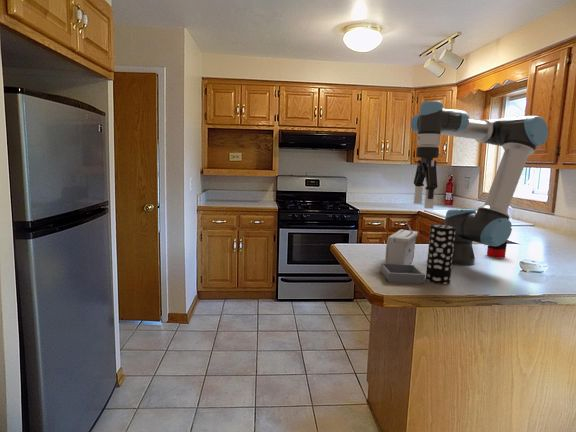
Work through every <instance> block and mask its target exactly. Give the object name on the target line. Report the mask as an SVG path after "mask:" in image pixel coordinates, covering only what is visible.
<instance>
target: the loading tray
mask: <svg viewBox="0 0 576 432" xmlns="http://www.w3.org/2000/svg"><path fill="white" fill-rule="evenodd" d="M379 272H380V274H381V275H382V276H383V278H384V279H385V280H386V282H387V284H404V285H405V284H406V285H407V284H409V285H425V280H426V273H424V272H422V270H421V269H419V268H418V267H417V266H416V265H415V264H409V265H407V264H385V263H380V271H379Z"/></svg>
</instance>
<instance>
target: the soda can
mask: <svg viewBox="0 0 576 432" xmlns="http://www.w3.org/2000/svg"><path fill="white" fill-rule="evenodd" d="M507 244H508V240H507V241H506V242H504V243H503V244H501V245H499V246H490V245H487V251H486V255H487V256H489V257H491V258H496V259H497V258H498V259H503V258H505V257H506V252H507Z"/></svg>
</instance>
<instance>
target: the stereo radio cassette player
mask: <svg viewBox="0 0 576 432" xmlns="http://www.w3.org/2000/svg"><path fill="white" fill-rule="evenodd" d="M405 223H406V225H407V226H408V230H407V229H402V228H401V229H398V230H397V231H396V232H394V233H392V234H390V235H389V236H387V240H386V246H385V258H384V259H385V260H384V261H385V262H384V264H407V265H411V263H412V262H413V261H414V257H415V247H416V246H415V245H416V238H417V237H418V236H419V231H416V230H412V229H411V226H410V225H409V223H408V221H407V220H405Z"/></svg>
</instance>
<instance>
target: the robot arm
mask: <svg viewBox="0 0 576 432" xmlns="http://www.w3.org/2000/svg"><path fill="white" fill-rule="evenodd" d="M410 129H411V131H413V133H417V136H416V137H415V138H416V140H417V143H416V145H417V147H416V152H415V153H416V154H415V157H416V158H420V159H418V161H417V166H416V171H415V175H414V179H413V184H414V196H413V204H417V205H419V204H420V205H421V204H422V203H423V202H422V201H423V190H425V194H424V195H425V198H424V207H423V208H424V209H431V210H433V209H434V203H435V202H434V200H435V190H436V189H438V187H439V186H438V176H437V175H438V174H437V160H434V159H437V158H439V154H440V148H439V146H440V143H441V135H442V136H448V137H449V136H450V137H457V138H465V139H473V140H475V141H476V142H477V143H483V144H489V145H492V146H493V145H494V146H500V147H502V149H503V150H504V151H503V153H502V156H501V159H500V163H498V167H497V170H496V173H495V175H494V178H493V180H492V183H491V186H490V188H489V190H488V194H487V197H486V199H485V201H484V204H483V205H482V206H480V207H478V209H477V210H476V209H474V208H473V209H472V208H462V209H461V208H457V209H455V208H452V209H451V208H450V209H448V210H447V211H446V214H445V217H444V225H448V226H453V227H456V231H455V240H454V250H453V259H452V265H457V266H458V265H460V266H469V265H470V266H471V265H474V264H475V262H476V256H475V253H474V249H473V242H474V243H478V244H483V245H484V246H488V245H490V246H499V245H501V244H503V243H504V242H506V241H507V242H508V239H509V238H510V236H511V234H512V231H513V228H512V226H513V225H512V222H511V221H510V220H509V219H510V215H509V213H508V209H509V207H510V204H511V201H512V199H513V196H514V194H515V191H516V189H517V185H518V183H519V180H520V178H521V176H522V173H523V170H524V168H525V166H526V163H527V161H528V158H529V156H531V155H534V154H535V151H536V149H537V147H540V146H541V147H542V146H543V145H545V143H546V142H547V139H548V136H549V128H548V125H547V122H546V120H545V119H544V118H543V117H542V116H539V115H526V116H518V117H504V118H497V119H484V118H483V119H481V120H475V119H470V116H469V114H468V112H466V111H465V110H460V109H448V108H444V103H443V102H442V101H440V100H428V101H426V100H425V101H423V102H421V104H420V107H419V113H417V114H414V116H413V117H412V118H411V119H410ZM424 182H425V183H426V186H425V184H424ZM424 187H425V188H424ZM422 205H423V204H422Z"/></svg>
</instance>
